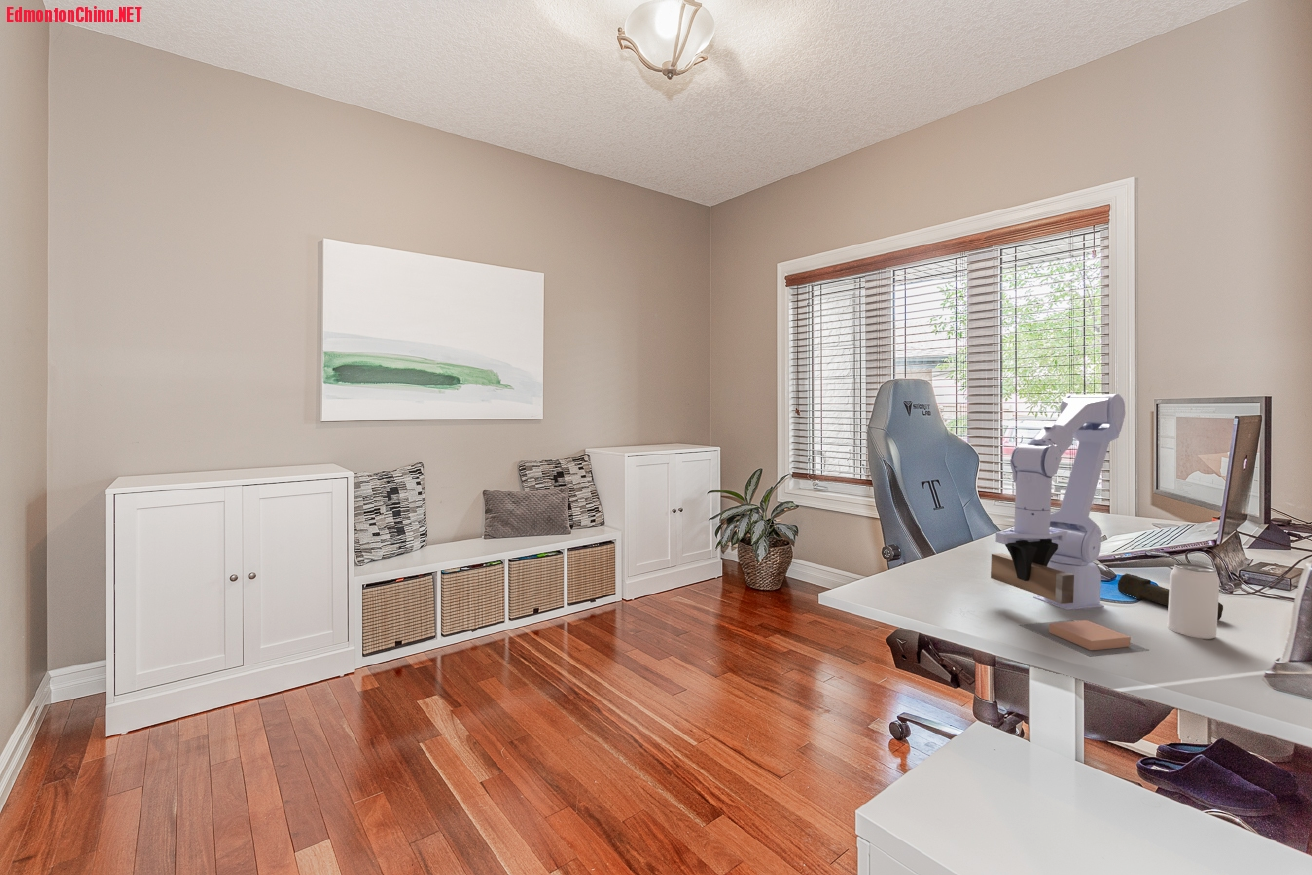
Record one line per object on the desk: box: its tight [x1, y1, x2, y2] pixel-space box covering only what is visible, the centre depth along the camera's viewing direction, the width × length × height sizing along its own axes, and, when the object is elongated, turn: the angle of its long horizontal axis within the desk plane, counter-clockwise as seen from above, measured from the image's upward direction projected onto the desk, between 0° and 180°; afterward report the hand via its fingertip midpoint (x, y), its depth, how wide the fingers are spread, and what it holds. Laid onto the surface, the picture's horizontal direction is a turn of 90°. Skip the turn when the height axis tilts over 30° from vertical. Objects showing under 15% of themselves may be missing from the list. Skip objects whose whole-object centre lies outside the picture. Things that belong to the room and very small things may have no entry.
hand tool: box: [1117, 572, 1224, 622], centre depth 122 cm, size 19×4×5 cm, turn 11°
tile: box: [1049, 619, 1132, 651], centre depth 102 cm, size 8×2×8 cm
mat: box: [1019, 619, 1149, 657], centre depth 104 cm, size 12×14×1 cm
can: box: [1167, 562, 1220, 641], centre depth 106 cm, size 6×6×12 cm
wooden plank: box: [990, 552, 1074, 604], centre depth 114 cm, size 3×16×5 cm, turn 14°
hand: (1029, 578), depth 114 cm, fingers closed on wooden plank, 2 cm apart
